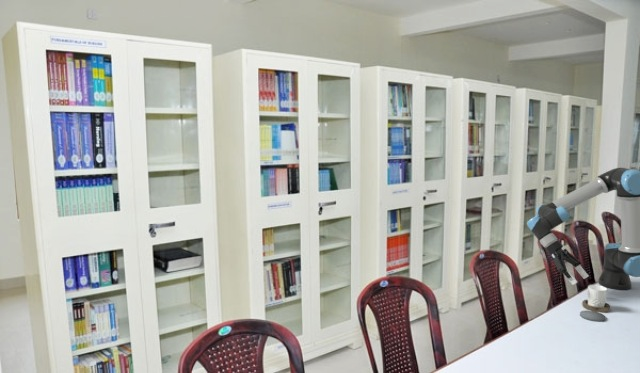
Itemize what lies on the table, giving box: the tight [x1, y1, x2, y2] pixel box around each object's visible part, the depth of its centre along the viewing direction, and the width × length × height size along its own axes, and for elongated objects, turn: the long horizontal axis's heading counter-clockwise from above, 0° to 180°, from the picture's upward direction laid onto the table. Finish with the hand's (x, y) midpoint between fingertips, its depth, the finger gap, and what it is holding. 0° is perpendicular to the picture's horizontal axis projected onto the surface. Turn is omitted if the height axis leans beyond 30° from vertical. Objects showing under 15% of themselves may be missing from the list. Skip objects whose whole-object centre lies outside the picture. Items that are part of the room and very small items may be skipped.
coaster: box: [579, 310, 606, 322], centre depth 213 cm, size 10×10×1 cm
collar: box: [581, 298, 611, 313], centre depth 223 cm, size 11×11×2 cm
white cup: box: [587, 284, 608, 308], centre depth 223 cm, size 8×8×10 cm
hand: (581, 280), depth 227 cm, fingers open, 13 cm apart
